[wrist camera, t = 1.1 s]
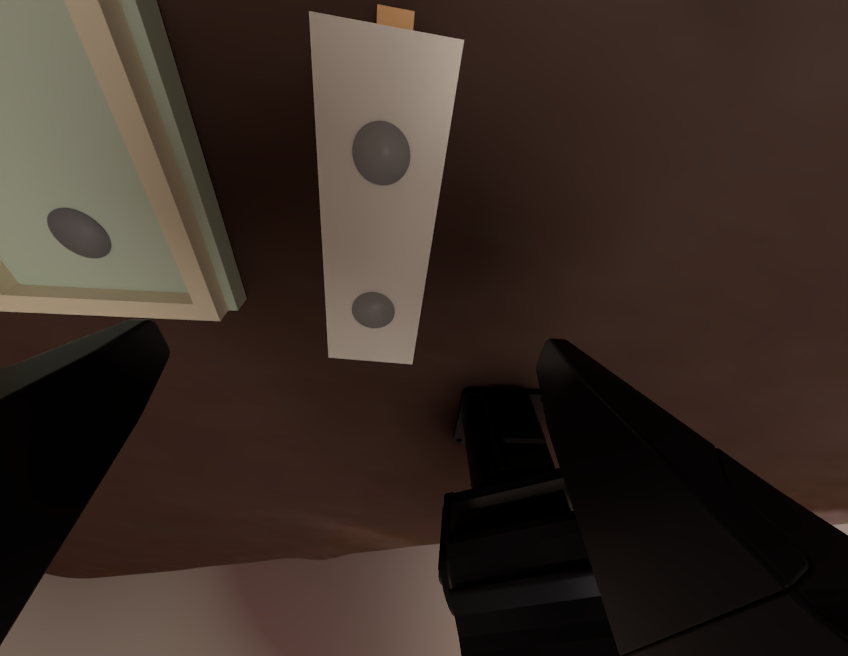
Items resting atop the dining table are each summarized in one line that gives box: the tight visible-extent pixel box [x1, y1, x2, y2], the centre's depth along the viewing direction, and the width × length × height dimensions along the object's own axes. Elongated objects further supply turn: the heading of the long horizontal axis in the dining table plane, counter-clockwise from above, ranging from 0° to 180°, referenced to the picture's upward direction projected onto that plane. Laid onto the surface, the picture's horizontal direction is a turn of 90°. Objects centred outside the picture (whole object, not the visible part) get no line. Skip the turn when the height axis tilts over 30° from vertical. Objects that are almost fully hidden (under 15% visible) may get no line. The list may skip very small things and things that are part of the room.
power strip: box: [309, 4, 464, 364], centre depth 14 cm, size 13×4×5 cm, turn 172°
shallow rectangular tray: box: [0, 0, 247, 321], centre depth 12 cm, size 18×12×2 cm, turn 176°
